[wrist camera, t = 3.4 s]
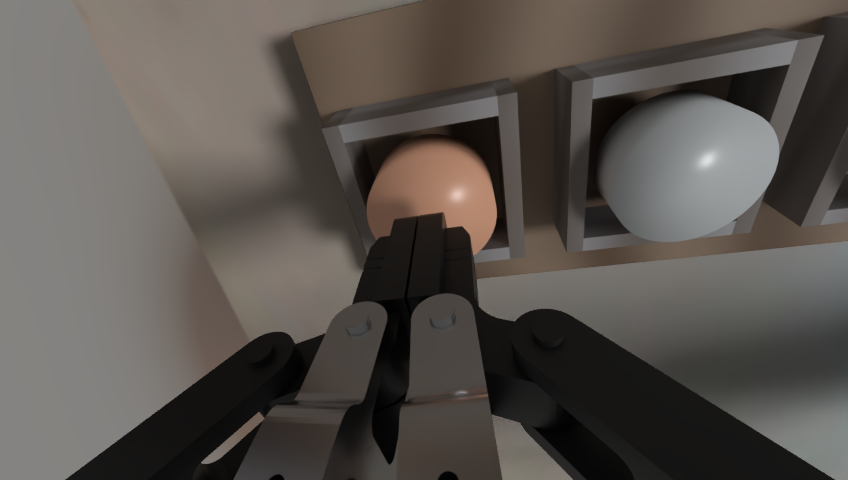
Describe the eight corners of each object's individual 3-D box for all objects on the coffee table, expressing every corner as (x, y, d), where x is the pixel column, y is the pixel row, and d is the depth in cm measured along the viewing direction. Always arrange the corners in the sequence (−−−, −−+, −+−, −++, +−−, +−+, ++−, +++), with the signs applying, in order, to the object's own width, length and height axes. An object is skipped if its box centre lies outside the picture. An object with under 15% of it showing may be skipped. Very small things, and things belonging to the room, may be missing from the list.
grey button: (752, 77, 11) (805, 93, 9) (714, 203, 13) (751, 233, 12) (597, 104, 12) (621, 123, 10) (589, 218, 14) (607, 249, 12)
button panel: (1109, -164, 10) (1457, -246, 6) (885, 208, 17) (997, 265, 13) (309, 27, 14) (262, 40, 11) (387, 264, 21) (373, 319, 17)
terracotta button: (485, 123, 12) (490, 144, 10) (496, 230, 15) (501, 260, 13) (362, 145, 13) (349, 168, 11) (392, 243, 15) (385, 273, 14)
